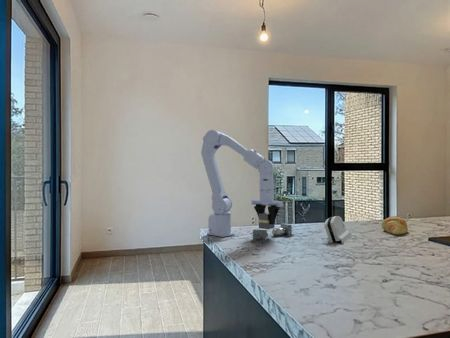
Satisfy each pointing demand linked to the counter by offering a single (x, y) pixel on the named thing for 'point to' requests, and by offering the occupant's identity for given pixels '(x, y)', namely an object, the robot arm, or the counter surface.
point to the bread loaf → (394, 225)
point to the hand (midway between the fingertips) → (267, 223)
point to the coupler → (265, 221)
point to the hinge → (336, 230)
